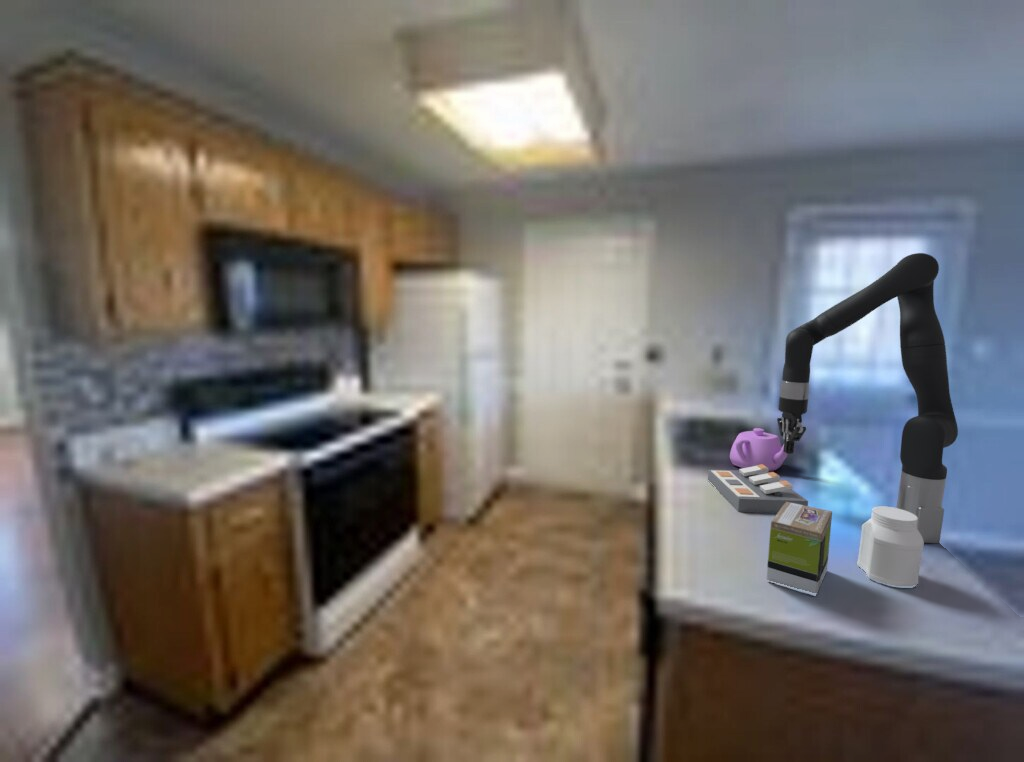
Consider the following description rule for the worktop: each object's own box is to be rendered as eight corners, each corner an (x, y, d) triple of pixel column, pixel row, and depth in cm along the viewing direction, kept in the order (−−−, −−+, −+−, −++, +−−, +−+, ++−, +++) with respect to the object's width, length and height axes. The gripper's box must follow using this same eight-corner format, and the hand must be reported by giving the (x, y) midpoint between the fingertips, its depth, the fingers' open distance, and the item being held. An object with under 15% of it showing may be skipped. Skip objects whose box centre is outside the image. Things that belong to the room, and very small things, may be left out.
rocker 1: (768, 471, 169) (768, 467, 169) (744, 476, 170) (743, 472, 169) (763, 467, 173) (762, 463, 173) (739, 472, 174) (738, 468, 173)
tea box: (780, 557, 124) (786, 499, 122) (827, 571, 118) (834, 510, 116) (764, 582, 113) (770, 519, 111) (816, 599, 107) (824, 532, 104)
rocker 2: (780, 479, 161) (779, 475, 161) (754, 484, 162) (753, 480, 162) (774, 475, 165) (773, 471, 165) (749, 480, 166) (748, 476, 166)
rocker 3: (792, 488, 153) (792, 484, 153) (765, 494, 154) (765, 489, 154) (786, 484, 157) (785, 479, 157) (760, 489, 158) (759, 485, 158)
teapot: (715, 466, 195) (718, 427, 192) (749, 458, 205) (752, 422, 203) (772, 484, 175) (776, 442, 173) (806, 474, 186) (810, 434, 184)
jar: (852, 560, 123) (859, 501, 121) (898, 565, 121) (906, 505, 119) (873, 585, 112) (881, 521, 110) (923, 592, 110) (933, 526, 108)
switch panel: (806, 513, 151) (808, 498, 150) (738, 511, 151) (739, 496, 151) (765, 482, 177) (767, 469, 177) (707, 480, 178) (708, 467, 177)
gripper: (819, 400, 144) (812, 459, 147) (795, 392, 157) (789, 447, 160) (792, 400, 145) (786, 459, 147) (770, 392, 158) (765, 446, 160)
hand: (788, 452), depth 154 cm, fingers closed
